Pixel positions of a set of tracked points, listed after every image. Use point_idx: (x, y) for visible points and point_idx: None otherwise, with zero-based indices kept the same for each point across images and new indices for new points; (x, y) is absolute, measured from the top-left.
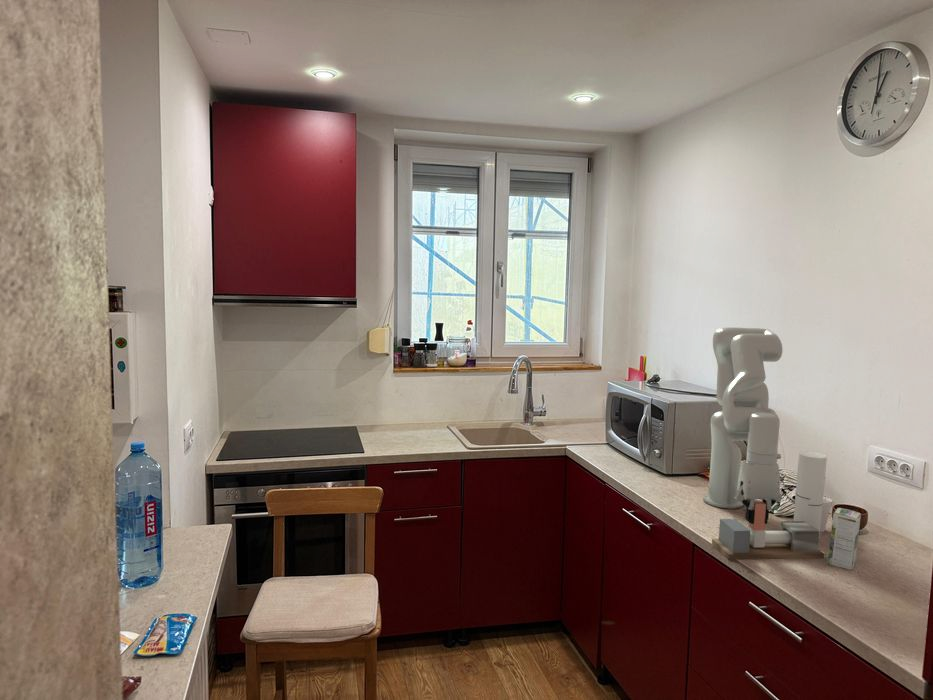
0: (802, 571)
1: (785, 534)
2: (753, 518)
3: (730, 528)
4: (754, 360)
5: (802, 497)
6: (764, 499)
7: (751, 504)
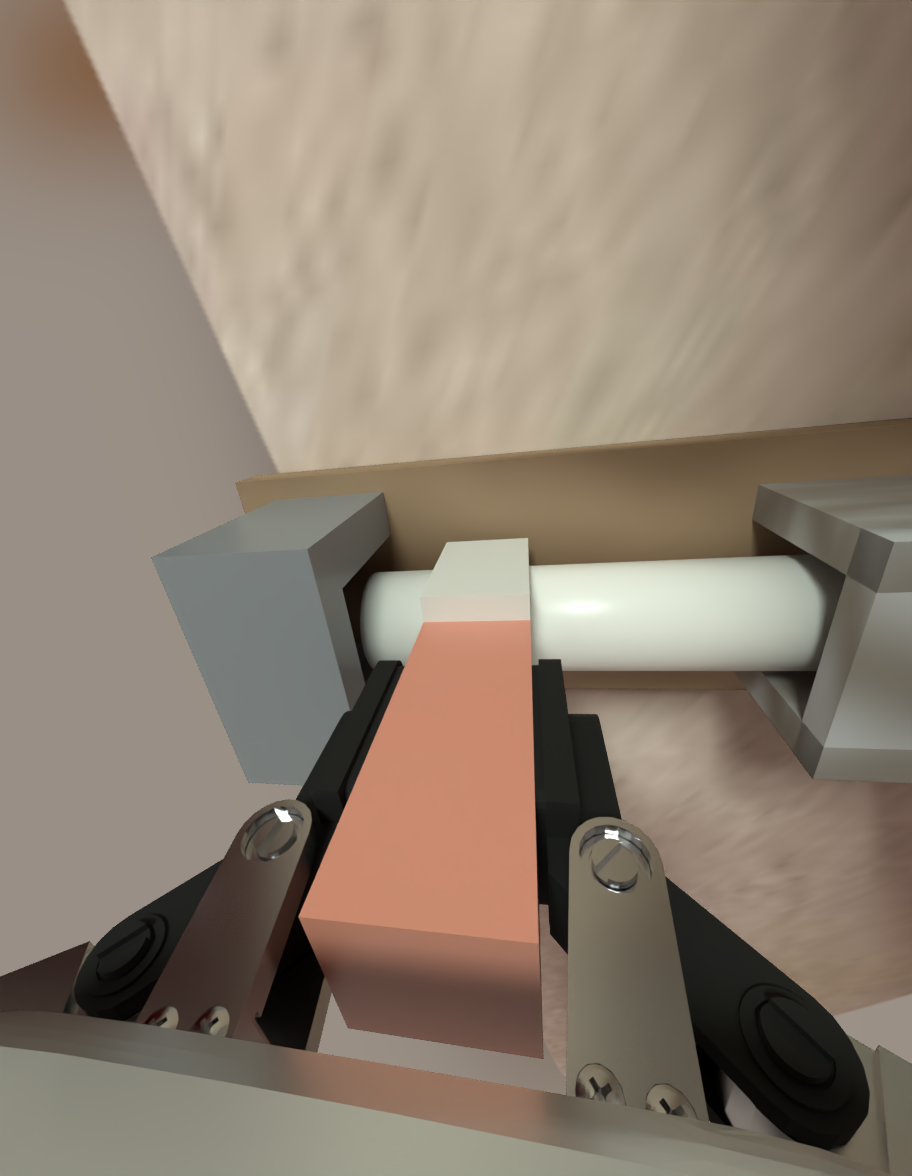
0: (636, 777)
1: (750, 668)
2: None
3: (232, 731)
4: None
5: None
6: (614, 1033)
7: (288, 1000)
